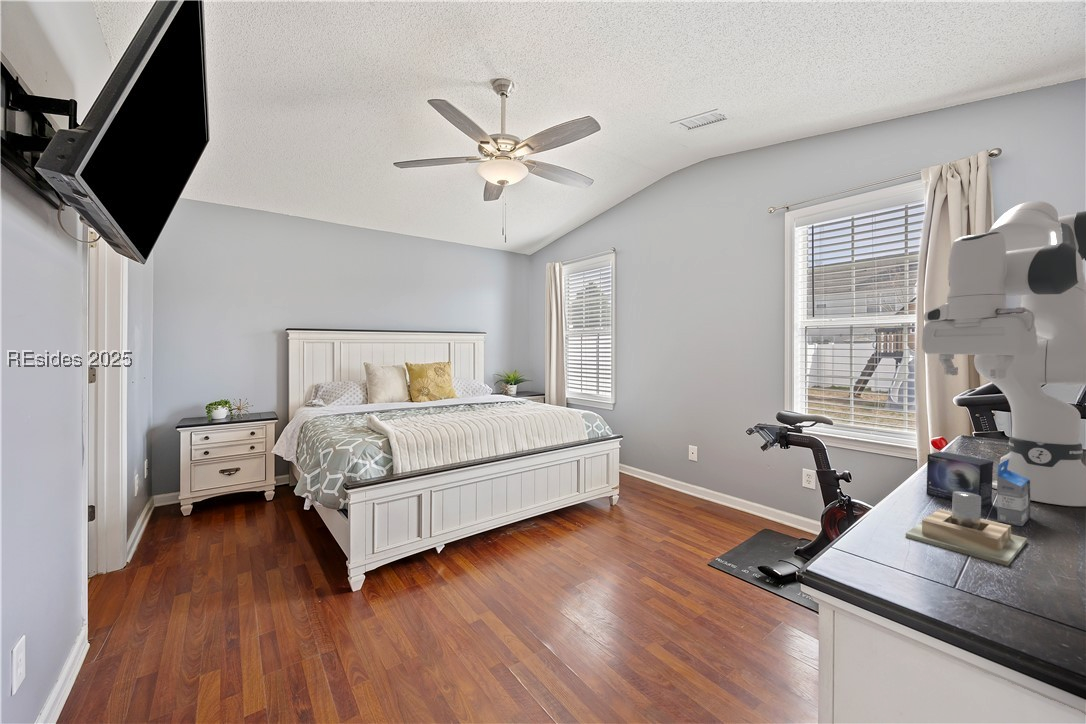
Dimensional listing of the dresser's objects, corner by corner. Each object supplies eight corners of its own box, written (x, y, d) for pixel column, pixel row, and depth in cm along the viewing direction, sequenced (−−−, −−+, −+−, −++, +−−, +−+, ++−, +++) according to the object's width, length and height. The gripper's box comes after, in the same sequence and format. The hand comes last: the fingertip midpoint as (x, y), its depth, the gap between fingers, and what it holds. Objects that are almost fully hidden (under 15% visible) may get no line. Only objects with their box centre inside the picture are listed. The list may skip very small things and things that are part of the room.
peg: (964, 530, 88) (965, 491, 87) (985, 539, 84) (987, 498, 83) (945, 531, 87) (946, 491, 87) (966, 540, 83) (968, 498, 83)
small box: (924, 494, 111) (925, 453, 111) (938, 490, 114) (939, 450, 114) (978, 508, 102) (980, 463, 101) (993, 504, 104) (994, 460, 104)
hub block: (932, 518, 96) (932, 503, 96) (1026, 542, 84) (1027, 525, 84) (905, 536, 87) (906, 520, 87) (1007, 566, 75) (1008, 547, 75)
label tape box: (1022, 527, 91) (1024, 468, 91) (994, 520, 94) (996, 464, 94) (1031, 517, 96) (1033, 462, 96) (1004, 512, 99) (1006, 458, 99)
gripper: (1049, 306, 82) (1046, 380, 82) (942, 314, 102) (940, 373, 103) (1018, 306, 82) (1016, 380, 82) (917, 314, 102) (915, 373, 102)
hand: (973, 376), depth 93 cm, fingers open, 8 cm apart
